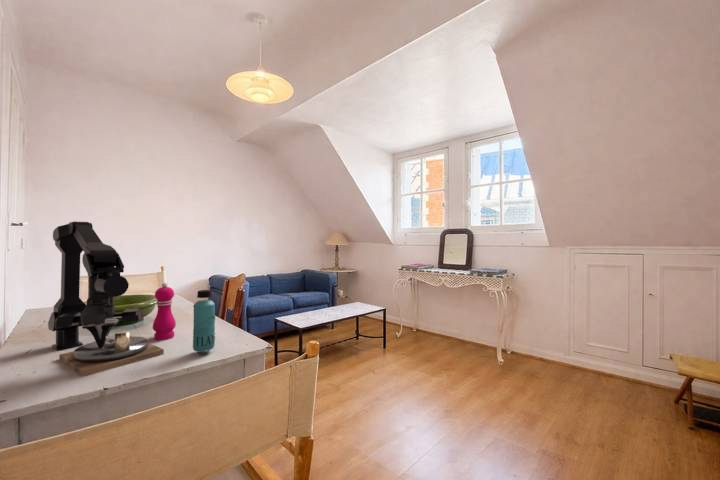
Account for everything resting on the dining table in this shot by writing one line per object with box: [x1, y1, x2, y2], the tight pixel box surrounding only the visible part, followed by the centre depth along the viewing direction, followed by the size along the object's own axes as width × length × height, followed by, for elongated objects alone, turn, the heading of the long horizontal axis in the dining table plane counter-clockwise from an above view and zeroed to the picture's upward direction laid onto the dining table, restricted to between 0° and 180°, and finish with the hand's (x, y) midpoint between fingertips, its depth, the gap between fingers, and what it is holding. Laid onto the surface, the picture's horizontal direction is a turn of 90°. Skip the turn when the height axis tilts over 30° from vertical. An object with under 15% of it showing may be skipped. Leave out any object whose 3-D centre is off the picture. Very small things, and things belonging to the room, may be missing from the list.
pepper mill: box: [152, 282, 177, 341], centre depth 117 cm, size 7×7×20 cm
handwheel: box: [73, 330, 149, 362], centre depth 98 cm, size 18×18×7 cm
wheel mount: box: [58, 342, 165, 377], centre depth 98 cm, size 20×20×2 cm
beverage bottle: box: [192, 289, 216, 353], centre depth 103 cm, size 6×7×20 cm
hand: (101, 347), depth 92 cm, fingers closed
